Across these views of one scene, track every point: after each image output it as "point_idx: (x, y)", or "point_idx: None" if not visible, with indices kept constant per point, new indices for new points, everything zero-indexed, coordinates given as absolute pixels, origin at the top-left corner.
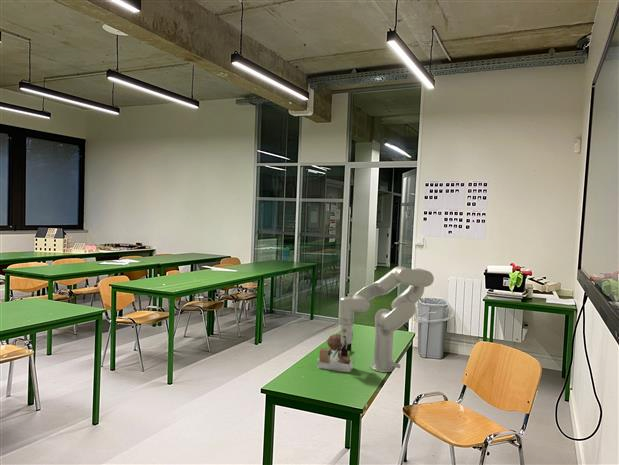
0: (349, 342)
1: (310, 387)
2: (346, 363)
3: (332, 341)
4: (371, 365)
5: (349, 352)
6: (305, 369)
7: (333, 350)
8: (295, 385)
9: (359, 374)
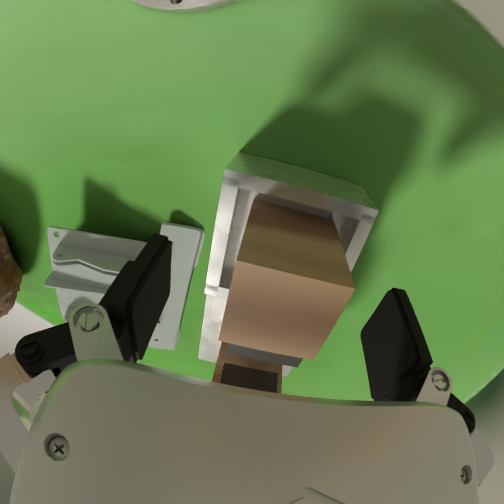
0: (468, 435)
1: (487, 349)
2: (351, 240)
3: (1, 306)
4: (196, 1)
5: (260, 260)
6: (313, 384)
7: (57, 294)
8: (457, 382)
9: (390, 114)
